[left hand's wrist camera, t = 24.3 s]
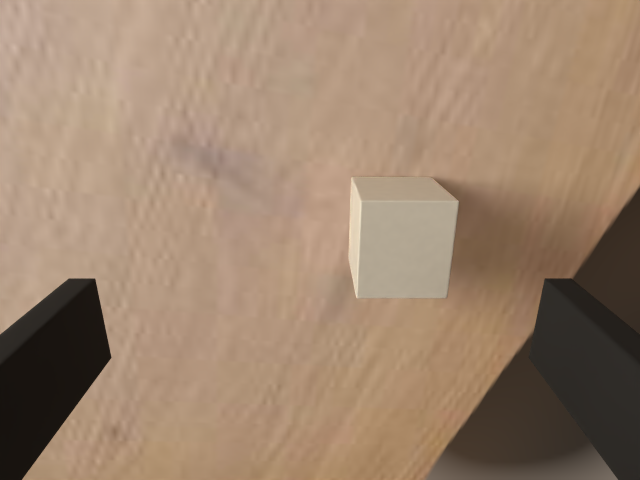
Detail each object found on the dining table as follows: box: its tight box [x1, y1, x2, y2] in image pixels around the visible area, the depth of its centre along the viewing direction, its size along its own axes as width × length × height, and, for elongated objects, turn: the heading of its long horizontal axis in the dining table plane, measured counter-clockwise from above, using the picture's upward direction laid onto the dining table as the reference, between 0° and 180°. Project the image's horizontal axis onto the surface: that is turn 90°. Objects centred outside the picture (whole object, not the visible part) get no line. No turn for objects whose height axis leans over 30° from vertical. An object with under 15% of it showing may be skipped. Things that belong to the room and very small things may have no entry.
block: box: [349, 177, 459, 298], centre depth 21 cm, size 4×5×5 cm
